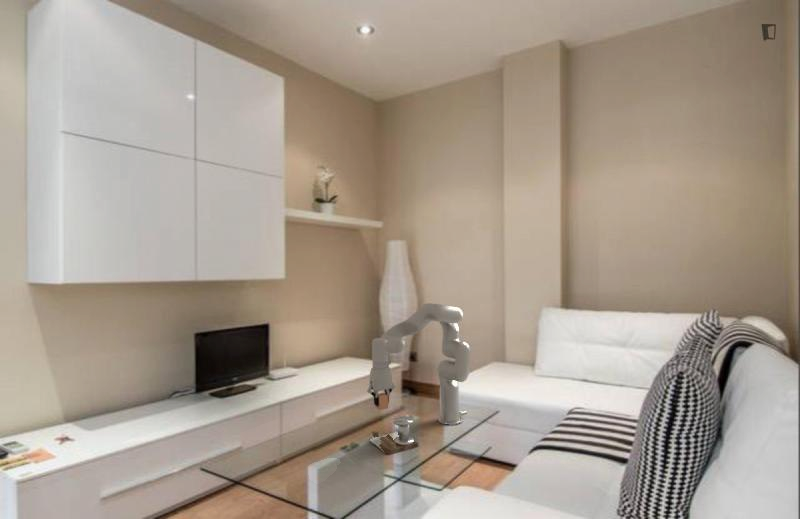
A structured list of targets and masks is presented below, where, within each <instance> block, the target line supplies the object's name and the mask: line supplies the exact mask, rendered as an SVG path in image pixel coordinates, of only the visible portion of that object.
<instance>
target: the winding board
mask: <svg viewBox="0 0 800 519" xmlns="http://www.w3.org/2000/svg"><path fill="white" fill-rule="evenodd" d="M371 432H372V436H371V437H374V438H375V437H379V435H380V433H379V431H378V430H376V431H375V430H374V431H371ZM380 440H381V444H380V445H379V446H380V447H381V449H382V450H383V451H384V452H383V451H382V452H383V453H384V454H385V455H387V456H389V455H393V454H396V453H400V452H402V451H406V450H410V449H414V448H417V447H419V442H418V441H415V440H414V443H413V444H411V445H407V446H400V445H396V444H395V443H394V440H393V438H392V437H391V436H390V435H389V434H388V435H387V436H386V437H381V438H380Z"/></svg>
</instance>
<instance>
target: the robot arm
mask: <svg viewBox="0 0 800 519" xmlns="http://www.w3.org/2000/svg"><path fill="white" fill-rule="evenodd" d="M463 318H464V314H463V311H462V310H461V308H460V307H457V306H452V305H451V306H450V305H445V304H440V303H433V302H432V303H431V302H429V303H428V302H427V303H425V304H422V305H421V307H419V308H418V309H417V310H416V311H415V312H414V313H413V314H411V315H410V316H409V317H408V318H407V319H405V320H403V321H401V322H399V323H397V324H395V325H393V326H391V327H390V328H388V329H387V331H386V332H384V333H383V334H382V335H381V337H377V338H372V342H371V349H372V350H371V355H372V367H371V368H370V373H369V384H368V388H367V390H366V392H367V393H368V394H370V395H371V396H372V397H373V404H374V406H375V405H376V406H377V407H378V406H379V398H378V394H379V392H381V391H384V393H385V394H387V395H388V405H389V402H390V395H391V393H392V392H393V390H395V389H396V386H395V384H394V383H393V376H392V371H391V367H390V365H391V364H392V361H390V360H389V357H390V356H389V354H399V353H401V352H403V351H404V350H405V348H406V342H405V340H404V339H403V338H404V337H408V336H413V335H416V334H419V333H420V332H421V331H422V330H423V329H424V328H426V326H428V324H429V323H430V322H432V321H433V322H439V324H440V325H441V328H442V341H441V342H442V343H441V353H442V355H443V356H444V357H446V358H451V359H454V360H451V359H443V360H441V361H440V362H439V363H438V365H437V375H438V378H439V379H438V380H439V388H440V392H439V394H440V416H439V417H438V419H437V420H438V423H440V424H442V425H445V423H447V424H449V425H448V426H456V425H460V424H461V423H462V422H463V416H465V415H467V414H468V412H467V411H466V410H460V394H459V393H460V392H459V390H460V388H459V383H464V382H465V381H467V379H468V377H469V375H470V367H471V347H470V345H469V344H468V343H467V342H466V341H463V340H460V329H459V325H458V324H459V323H460V322H461V321H462V320H463ZM459 423H460V424H459Z"/></svg>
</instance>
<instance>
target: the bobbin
mask: <svg viewBox="0 0 800 519" xmlns="http://www.w3.org/2000/svg"><path fill="white" fill-rule="evenodd" d="M413 423H414V418H413V417H412V416H405V415H404V416H398V417H395V418H393V424H394V425H396V426H397V428H398V430H397V431H398V435H399V437H396V438H395V439H394V443H395V444H396V445H400V446H407V445H411V444H413V443H414V441H415V438H414V437H413V436H411V435H410V425H412V424H413Z"/></svg>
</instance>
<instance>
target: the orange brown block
mask: <svg viewBox="0 0 800 519" xmlns="http://www.w3.org/2000/svg"><path fill="white" fill-rule="evenodd" d="M378 398H379V406H378V407H377V406H376V405H375V404H374V406H375V408H376V409H377V410H379V411H380V410H381V411H382V410H386V409H389V404H388V403H389V402H388V395H387V394H385V392H382V393H378Z"/></svg>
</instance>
